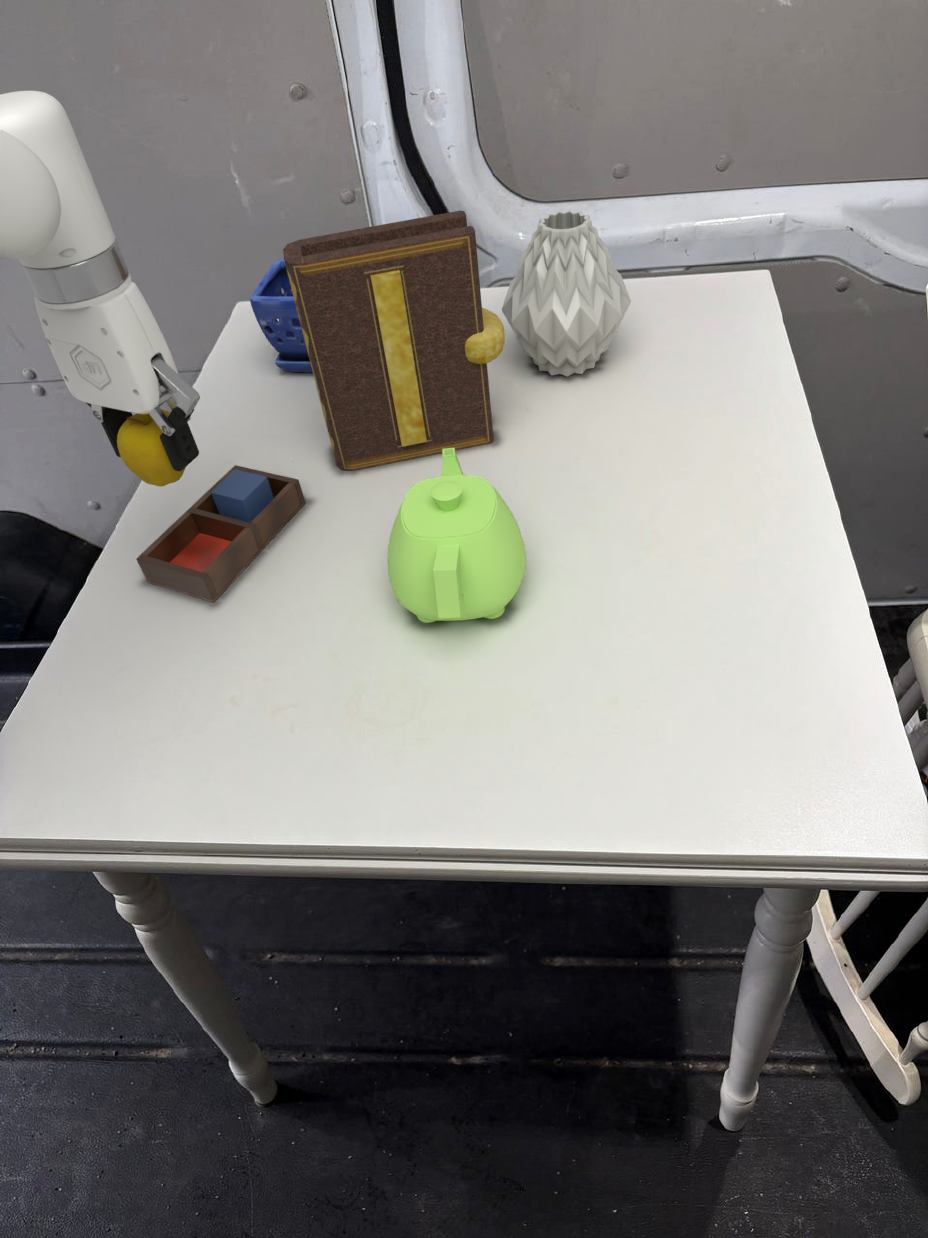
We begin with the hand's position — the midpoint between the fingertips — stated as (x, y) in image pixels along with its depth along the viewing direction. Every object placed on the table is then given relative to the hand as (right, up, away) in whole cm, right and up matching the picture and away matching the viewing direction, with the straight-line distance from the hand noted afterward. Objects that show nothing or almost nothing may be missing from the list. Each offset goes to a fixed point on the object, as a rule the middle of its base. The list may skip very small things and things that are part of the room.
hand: (158, 454), depth 80 cm
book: (+24, +6, +23) cm, 34 cm away
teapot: (+29, -13, +4) cm, 32 cm away
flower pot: (+10, +22, +41) cm, 47 cm away
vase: (+43, +19, +33) cm, 58 cm away
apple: (0, -2, +2) cm, 3 cm away
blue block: (+5, -4, +15) cm, 16 cm away
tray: (+3, -7, +13) cm, 15 cm away
